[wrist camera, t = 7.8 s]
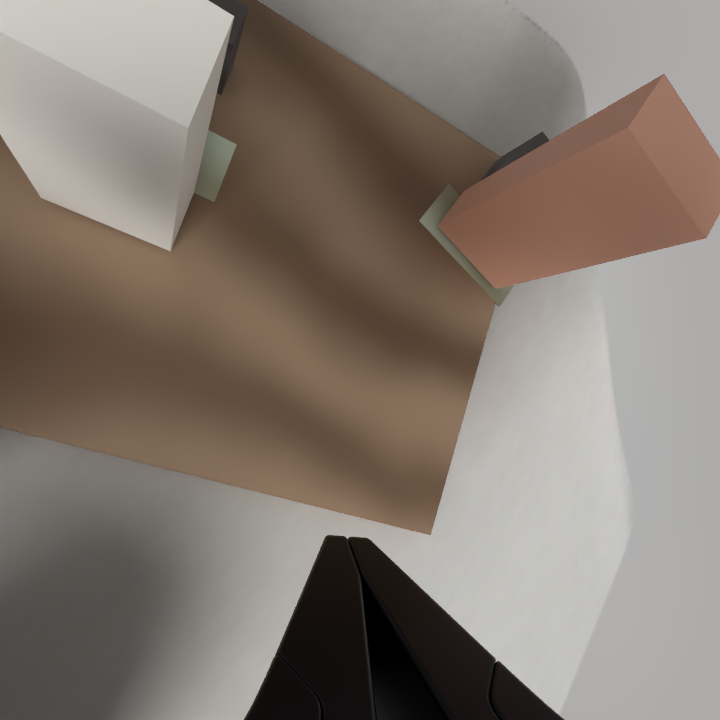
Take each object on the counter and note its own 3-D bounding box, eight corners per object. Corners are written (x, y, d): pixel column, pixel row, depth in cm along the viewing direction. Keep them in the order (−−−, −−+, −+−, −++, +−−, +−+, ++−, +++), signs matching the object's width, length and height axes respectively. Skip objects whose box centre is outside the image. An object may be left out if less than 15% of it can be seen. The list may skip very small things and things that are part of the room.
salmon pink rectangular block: (495, 288, 24) (706, 238, 15) (436, 225, 23) (627, 127, 14) (520, 253, 25) (736, 184, 16) (464, 190, 24) (664, 73, 14)
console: (441, 534, 24) (493, 564, 20) (-232, 364, 15) (-363, 361, 11) (535, 192, 27) (596, 162, 23) (24, -131, 17) (-10, -265, 14)
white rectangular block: (170, 251, 18) (188, 128, 9) (40, 197, 17) (-100, -19, 7) (193, 192, 19) (233, 16, 9) (69, 134, 17) (-30, -148, 8)
